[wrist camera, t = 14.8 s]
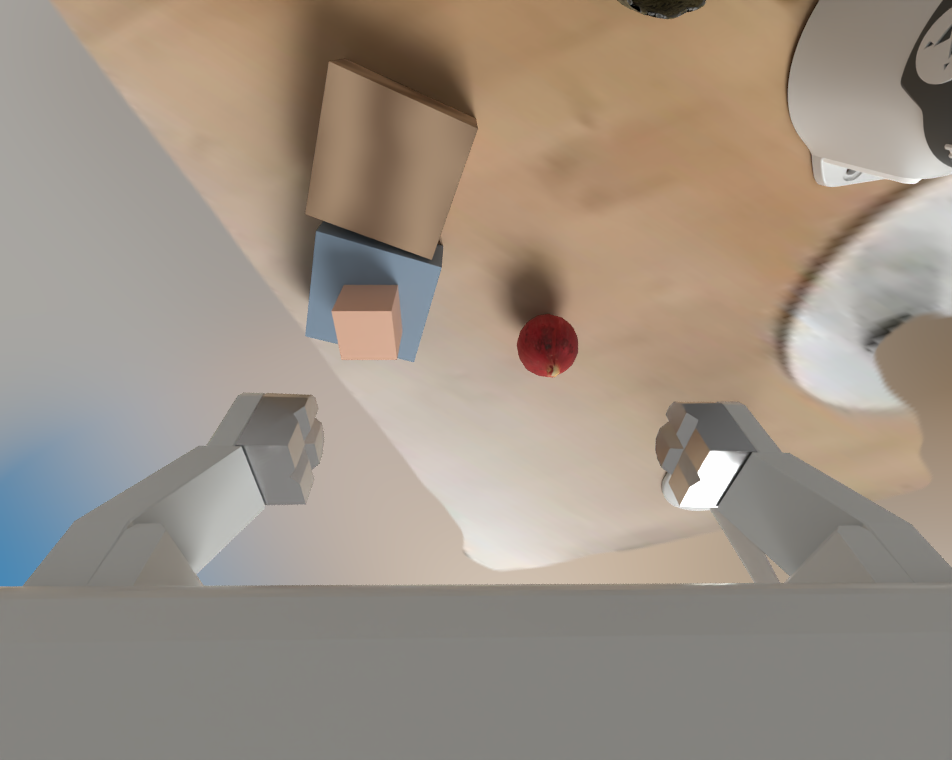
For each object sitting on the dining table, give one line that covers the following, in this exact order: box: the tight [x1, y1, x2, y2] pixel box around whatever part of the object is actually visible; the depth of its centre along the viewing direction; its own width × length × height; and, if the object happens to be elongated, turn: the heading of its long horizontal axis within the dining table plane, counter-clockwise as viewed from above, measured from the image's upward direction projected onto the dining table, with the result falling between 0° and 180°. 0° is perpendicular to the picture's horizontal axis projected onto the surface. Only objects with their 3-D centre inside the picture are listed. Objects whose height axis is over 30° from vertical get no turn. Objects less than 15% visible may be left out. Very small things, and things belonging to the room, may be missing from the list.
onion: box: [517, 314, 578, 377], centre depth 42 cm, size 6×6×8 cm
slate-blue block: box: [305, 221, 443, 362], centre depth 40 cm, size 10×10×5 cm
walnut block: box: [305, 58, 478, 260], centre depth 33 cm, size 10×10×5 cm
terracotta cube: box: [331, 285, 403, 360], centre depth 36 cm, size 4×4×4 cm
